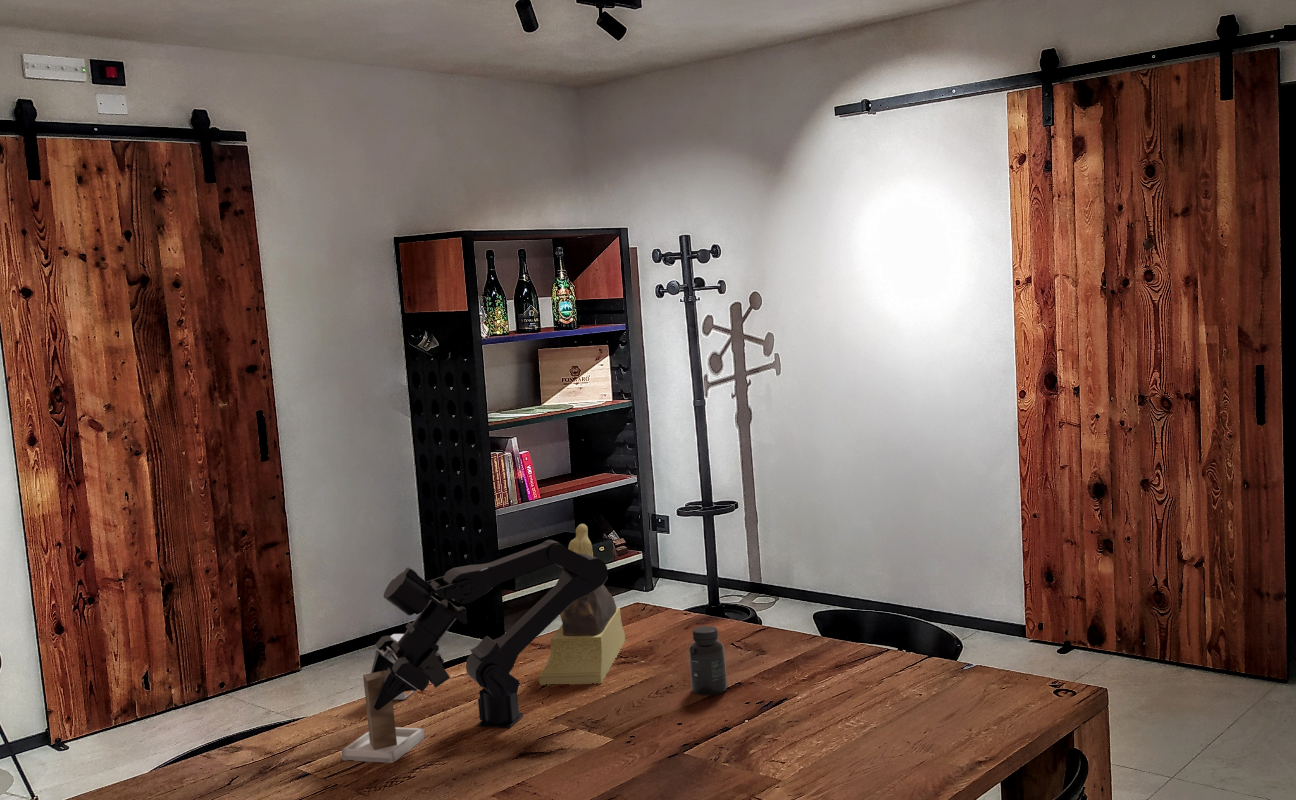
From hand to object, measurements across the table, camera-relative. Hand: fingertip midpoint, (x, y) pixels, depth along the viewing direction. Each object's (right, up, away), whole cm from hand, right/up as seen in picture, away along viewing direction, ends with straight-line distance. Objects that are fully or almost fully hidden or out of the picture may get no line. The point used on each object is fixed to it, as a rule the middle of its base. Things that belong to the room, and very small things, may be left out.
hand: (371, 702), depth 193 cm
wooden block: (+2, -8, +1) cm, 8 cm away
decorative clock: (+35, -3, +42) cm, 55 cm away
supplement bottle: (+61, -3, +18) cm, 64 cm away
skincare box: (-1, -7, +30) cm, 31 cm away
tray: (+2, -9, +1) cm, 9 cm away
